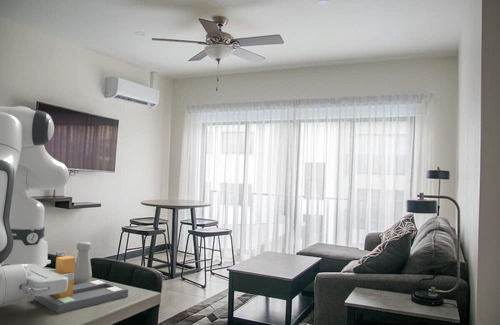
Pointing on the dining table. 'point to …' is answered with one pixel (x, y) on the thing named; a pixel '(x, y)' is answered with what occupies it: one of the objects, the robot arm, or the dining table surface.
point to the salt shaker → (83, 263)
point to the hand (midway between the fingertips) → (68, 273)
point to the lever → (62, 267)
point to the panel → (84, 296)
